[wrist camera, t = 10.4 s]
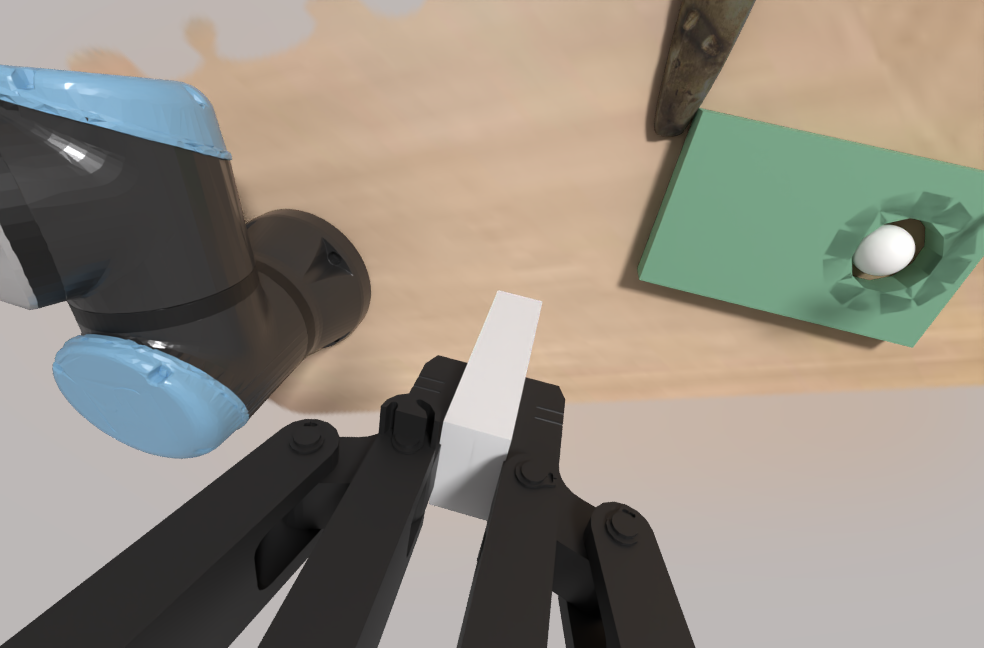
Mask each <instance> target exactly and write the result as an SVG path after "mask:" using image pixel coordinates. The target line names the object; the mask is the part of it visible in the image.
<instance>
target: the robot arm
mask: <svg viewBox="0 0 984 648" xmlns="http://www.w3.org/2000/svg"><path fill="white" fill-rule="evenodd" d="M230 160H232V156H231V154H230V152H228V151H227V149H226V146H225V143H224V140H223V137H222V134H221V131H220V128H219V124H218V121H217V118H216V114H215V111H214V109H213V106H212V104H211V103H210V101H209V100H208V98H207V97H206V96H205V95H204V94H203V93H202V92H201V91H199V90H198V89H196V88H195V87H193V86H191V85H189V84H186V83H183V82H179V81H171V80H161V79H151V78H141V77H130V76H119V75H108V74H97V73H87V72H77V71H66V70H65V71H64V70H55V69H54V70H53V69H44V68H32V67H20V66H8V65H0V301H4V302H6V303H10V304H13V305H16V306H19V307H22V308H25V309H28V310H33V309H38V308H42V307H45V306H49V305H52V304H56V303H59V302H63V301H67V302H68V304H69V306H70V308H71V310H72V312H73V314H74V316H75V318H76V321H77V323H78V325H79V327H80V329H81V332H82V333H81V335H78V336H76V337H74V338H71V339H69V340H68V341H67V342H65V344H64V346H63V348H61V349H60V350H59V351H58V352H57V354H56V357H55V362H54V363H53V374H54V378H55V381H56V383H57V385H58V387H59V389H60V391H61V392H62V394H63V395H64V396H65V398H66V399H67V400H68V402H69V403H70V404H71V405H72V406H73V407H74V408H75V409H76V410H77V411H78V412H79V413H80V414H81V415H82V416H84V418H86V419H87V420H88V421H89V422H90V423H92V424H93V425H94V426H96V427H97V428H98V429H100V430H101V431H103V432H104V433H106V434H108V435H109V436H111V437H113V438H115V439H116V440H118V441H120V442H122V443H124V444H126V445H128V446H130V447H133V448H135V449H138V450H141V451H143V452H146V453H149V454H153V455H157V456H162V457H168V458H181V459H183V458H193V457H198V456H201V455H204V454H207V453H209V452H211V451H212V450H214V449H216V448H217V447H218V446H219V445H221V444H222V443H223V442H224V441H225V440H226V439H227V438H228V437H229V436H230V435H231V434H232V433H234V432H235V431H236V430H238V429H240V428H241V427H242V426H244V425H245V424H246V423H247V421H248V420H249V418H250V417H251V416H252V415H253V414H254V413H255V412H256V411H257V410H258V409H259V407H260V406H261V405H262V404H263V403H264V402H265V401H266V400H267V399H268V398H269V396H270V395H271V394H272V393H273V392H274V391H275V390H276V389H277V388H278V387H279V386H280V384H281V383H282V382H283V381H284V380H285V379H286V378H287V377H288V376H289V375H290V373H291V372H292V371H293V370H294V369H295V368H296V367H297V366H298V365H299V364H300V362H301V361H302V360H303V359H304V358H305V357H306V356H308V355H310V354H312V353H315V352H317V351H319V350H320V349H321V348H325V347H329V346H332V345H334V344H336V343H339V342H340V341H342V340H343V339H345V338H346V337H348V336H349V335H350V334H351V333H352V332H353V331H354V330H355V328H356V327H357V326H358V325H359V324H360V323H361V321H362V320H363V319H364V317H365V315H366V313H367V311H368V308H369V304H370V298H371V286H370V280H369V276H368V272H367V269H366V266H365V264H364V262H363V260H362V258H361V256H360V255H359V253H358V251H357V250H356V248H355V247H354V246H353V244H352V243H351V242H350V241H349V240H348V239H347V237H346V236H345V235H344V234H343V233H341V232H340V231H339V230H338V229H337V228H335V227H334V226H333V225H331V224H330V223H328V222H327V221H325V220H323V219H321V218H319V217H317V216H315V215H313V214H310V213H307V212H303V211H299V210H292V209H280V210H274V211H270V212H267V213H265V214H263V215H261V216H259V217H257V218H255V219H253V220H251V221H249V222H247V223H246V224H245V220H244V216H243V212H242V208H241V204H240V199H239V195H238V191H237V187H236V183H235V179H234V175H233V170H232V166H231V162H230ZM541 306H542V301H539V300H535V299H531V298H527V297H523V296H519V295H515V294H511V293H507V292H503V291H500V290H498V292H497V294H496V296H495V299H494V301H493V304H492V306H491V308H490V311H489V313H488V316H487V318H486V320H485V323H484V325H483V328H482V330H481V332H480V335H479V337H478V340H477V342H476V344H475V347H474V349H473V352H472V354H471V356H470V359H469V361H468V363H465V362H462V361H458V360H454V359H450V358H447V357H443V356H439V355H438V356H436V357H435V358H433V359H432V360H430V361H429V362H427V363H426V364H425V365H424V367H423V369H422V371H421V373H420V375H419V377H418V378H417V380H416V382H415V384H414V387H412V389H411V391H410V393H409V394H401V395H396V396H394V397H392V398H389V399H387V400H386V401H385V402H384V403H383V404H382V405H381V411H380V423H379V433H378V434H376V435H372V436H368V437H339V435H338V432H337V430H336V429H335V428H334V427H333V426H332V425H331V424H329V423H328V422H324V421H321V420H318V419H304V420H300V421H296V422H292V423H291V424H289V425H287V426H285V427H284V428H282V429H281V430H279V431H278V432H277V433H276V434H274V435H273V436H272V437H270V438H269V439H268V440H266V441H265V442H264V443H263V444H261V445H260V446H259V447H257V448H256V449H255V450H254V451H252V452H251V453H250V454H248V455H247V456H246V457H244V458H243V459H242V460H241V461H239V462H238V463H237V464H235V465H234V466H233V467H232V468H230V469H229V470H228V471H226V472H225V473H224V474H223V475H221V476H220V477H219V478H217V479H216V480H215V481H213V482H212V483H211V484H210V485H208V486H207V487H206V488H204V489H203V490H202V491H201V492H199V493H198V494H197V495H195V496H194V497H193V498H191V499H190V500H189V501H187V502H186V503H185V504H184V505H182V506H181V507H180V508H179V509H177V510H176V511H175V512H173V513H172V514H171V515H169V516H168V517H167V518H165V519H164V520H163V521H162V522H160V523H159V524H158V525H156V526H155V527H154V528H153V529H151V530H150V531H149V532H147V533H146V534H145V535H143V536H142V537H141V538H140V539H138V540H137V541H136V542H134V543H133V544H132V545H131V546H129V547H128V548H127V549H126V550H124V551H123V552H121V553H120V554H119V555H118V556H116V557H115V558H114V559H112V560H111V561H110V562H109V563H107V564H106V565H105V566H103V567H102V568H101V569H99V570H98V571H97V572H96V573H94V574H93V575H92V576H91V577H89V578H88V579H87V580H85V581H84V582H83V583H81V584H80V585H79V586H77V587H76V588H75V589H74V590H72V591H71V592H70V593H68V594H67V595H66V596H65V597H63V598H62V599H61V600H59V601H58V602H57V603H56V604H54V605H53V606H52V607H50V608H49V609H48V610H46V611H45V612H44V613H42V614H41V615H40V616H39V617H37V618H36V619H35V620H33V621H32V622H31V623H30V624H28V625H27V626H26V627H24V628H23V629H22V630H21V631H19V632H18V633H17V634H15V635H14V636H13V637H11V638H10V639H9V640H8V641H6V642H5V643H4V644H2V645H1V646H0V648H228V647H229V645H231V643H232V642H233V641H234V640H235V639H236V638H237V637H238V635H240V633H241V632H242V631H243V630H244V629H245V627H247V626H248V624H249V623H250V622H251V621H252V620H253V619H254V617H256V615H257V614H258V613H259V612H260V611H261V610H262V609H263V607H264V606H265V605H266V604H267V603H268V602H269V601H270V600H271V599H272V597H273V596H274V595H275V594H276V593H277V592H278V591H279V590H280V588H281V587H282V586H283V585H284V584H285V583H286V582H287V581H288V580H289V578H290V577H291V576H292V575H293V574H294V573H295V572H296V571H297V569H298V568H299V567H300V566H301V565H302V564H303V563H304V562H305V561H306V559H307V558H308V557H309V558H308V559H307V561H306V563H305V565H304V567H303V569H302V570H301V572H300V574H299V575H298V577H297V579H296V581H295V583H294V584H293V586H292V588H291V589H290V591H289V593H288V595H287V596H286V599H285V600H284V602H283V604H282V605H281V607H280V609H279V611H278V612H277V614H276V616H275V618H274V619H273V621H272V623H271V625H270V627H269V628H268V630H267V632H266V634H265V636H264V637H263V639H262V641H261V642H260V644H259V646H258V648H377V647H378V645H379V642H380V639H381V636H382V634H383V631H384V628H385V625H386V622H387V620H388V617H389V614H390V612H391V609H392V606H393V604H394V601H395V598H396V595H397V593H398V590H399V587H400V584H401V582H402V579H403V576H404V574H405V571H406V568H407V566H408V563H409V560H410V557H411V555H412V552H413V549H414V546H415V544H416V541H417V538H418V536H419V533H420V530H421V527H422V525H423V519H424V513H425V509H426V506H427V504H428V501H429V499H430V501H429V504H431V505H434V506H438V507H442V508H445V509H448V510H452V511H456V512H459V513H462V514H466V515H469V516H473V517H476V518H479V519H483V520H486V521H487V526H486V529H485V533H484V537H483V540H482V544H481V547H480V551H479V554H478V558H477V565H476V569H475V573H474V577H473V582H472V586H471V590H470V594H469V598H468V602H467V607H466V611H465V615H464V619H463V623H462V628H461V632H460V636H459V640H458V645H457V648H547V641H548V630H549V619H550V608H551V596H552V591H553V592H554V593H556V594H557V595H558V600H559V606H560V612H561V619H562V625H563V631H564V638H565V644H566V648H695V645H694V643H693V640H692V637H691V634H690V631H689V629H688V626H687V623H686V620H685V618H684V615H683V612H682V610H681V607H680V604H679V601H678V598H677V596H676V594H675V590H674V587H673V585H672V582H671V579H670V576H669V574H668V571H667V568H666V565H665V563H664V560H663V557H662V554H661V552H660V549H659V546H658V544H657V541H656V538H655V535H654V532H653V530H652V529H651V527H650V525H649V523H648V522H647V520H646V519H645V518H644V517H643V516H642V515H641V514H640V513H639V512H638V511H636V510H634V509H632V508H631V507H629V506H627V505H625V504H621V503H617V502H607V503H602V504H601V505H599V506H597V507H594V506H592V505H591V504H589V503H587V502H586V501H584V500H582V499H581V498H579V497H578V496H576V495H575V494H573V493H572V492H571V491H570V489H569V488H568V487H566V485H565V483H564V482H563V480H562V478H561V476H560V473H559V459H560V448H561V438H562V425H563V417H564V416H563V414H564V407H565V398H564V396H563V394H562V392H561V390H560V387H559V386H556V385H552V384H549V383H545V382H541V381H537V380H534V379H530V378H526V373H527V368H528V364H529V359H530V355H531V350H532V346H533V341H534V337H535V332H536V328H537V323H538V319H539V315H540V310H541Z"/></svg>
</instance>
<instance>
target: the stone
mask: <svg viewBox="0 0 984 648" xmlns="http://www.w3.org/2000/svg"><path fill="white" fill-rule="evenodd" d="M755 1H756V0H683V1H682V4H681V8H680V12H679V15H678V19H677V23H676V27H675V31H674V35H673V38H672V43H671V47H670V51H669V55H668V59H667V63H666V67H665V72H664V76H663V80H662V85H661V89H660V94H659V99H658V104H657V110H656V116H655V123H654V128H655V131H656V133H657V135H661V136H676V135H679V134H681V133H683V131H684V130H685V128H686V127H687V125H688V124H689V122H690V121H691V119H692V117H693V116H694V114H695V113H696V111H697V110H698V108H699V107H700V105H701V104H702V102H703V100H704V99H705V97H706V95H707V94H708V92H709V90H710V89H711V87H712V85H713V83H714V82H715V80H716V78H717V76H718V75H719V73H720V71H721V69H722V67H723V65H724V63H725V62H726V60H727V58H728V56H729V54H730V52H731V50H732V48H733V46H734V44H735V42H736V40H737V38H738V36H739V34H740V32H741V30H742V28H743V26H744V24H745V22H746V20H747V18H748V16H749V13H750V11H751V9H752V7H753V5H754V3H755Z"/></svg>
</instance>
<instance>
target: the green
mask: <svg viewBox="0 0 984 648" xmlns="http://www.w3.org/2000/svg"><path fill="white" fill-rule="evenodd" d="M908 218H912V219H916V220H920V222H921V223H922V224H923V225H924V226H925V244H924V247H923V248H922V250H921V251H920V253H919V254H918V256H917V257H916V258H915V260H914V261H913V263H912V264H910V265H909V266H907V267H906V268H904V269H902V270H901V271H899V272H897V273H896V274H894V275H893V276H889V277H884V278H879V279H874V280H866V279H862V278H858V277H854V276H852V256H853V254H854V253H855V251H856V249H857V248H858V246H859V244H860V243H861V241H862V240H863V238H864V237H866V236H867V235H869V234H870V233H872V232H873V231H875V230H876V229H878V228H879V227H881V226H882V225H884V224H886V223H890V222H895V221H899V220H904V219H908ZM983 256H984V170H979V169H975V168H970V167H965V166H961V165H956V164H952V163H947V162H943V161H938V160H934V159H929V158H925V157H920V156H915V155H911V154H906V153H902V152H897V151H893V150H888V149H884V148H879V147H875V146H870V145H865V144H861V143H856V142H852V141H847V140H843V139H838V138H834V137H829V136H825V135H820V134H815V133H811V132H806V131H802V130H797V129H793V128H788V127H784V126H779V125H775V124H770V123H765V122H761V121H756V120H752V119H747V118H743V117H738V116H734V115H729V114H725V113H720V112H715V111H711V110H706V109H702V108H698V110H697V111H696V113H695V115H694V118H693V121H692V123H691V126H690V129H689V131H688V134H687V137H686V139H685V142H684V145H683V147H682V150H681V153H680V156H679V158H678V161H677V164H676V166H675V169H674V172H673V174H672V177H671V180H670V182H669V185H668V188H667V190H666V193H665V196H664V198H663V201H662V204H661V207H660V209H659V212H658V215H657V217H656V220H655V223H654V225H653V228H652V231H651V233H650V236H649V239H648V241H647V244H646V247H645V249H644V252H643V255H642V257H641V260H640V263H639V266H638V268H637V270H638V276H639V280H642V281H646V282H650V283H654V284H658V285H662V286H666V287H670V288H674V289H678V290H682V291H686V292H690V293H694V294H698V295H702V296H706V297H710V298H714V299H718V300H722V301H726V302H730V303H734V304H739V305H743V306H747V307H751V308H755V309H759V310H763V311H767V312H771V313H775V314H779V315H783V316H787V317H791V318H795V319H799V320H803V321H807V322H811V323H815V324H819V325H823V326H827V327H831V328H835V329H839V330H843V331H848V332H852V333H856V334H860V335H864V336H868V337H872V338H876V339H880V340H884V341H888V342H892V343H896V344H900V345H904V346H908V347H912V348H913V347H914V345H915V344H916V343H917V341H918V340H919V339H920V338H921V336H922V335H923V334H924V332H925V331H926V330H927V329H928V327H929V326H930V325H931V323H932V322H933V321H934V319H935V318H936V317H937V316H938V314H939V313H940V312H941V310H942V309H943V308H944V306H945V305H946V304H947V303H948V301H949V300H950V299H951V297H952V296H953V295H954V294H955V292H956V291H957V290H958V288H959V287H960V286H961V284H962V283H963V282H964V281H965V279H966V278H967V277H968V275H969V274H970V273H971V272H972V270H973V269H974V268H975V266H976V265H977V264H978V262H979V261H980V260H981V259H982V257H983Z"/></svg>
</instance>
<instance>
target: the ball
mask: <svg viewBox="0 0 984 648" xmlns="http://www.w3.org/2000/svg"><path fill="white" fill-rule="evenodd" d="M914 253H915V243H914V240H913V238H912V236H911V235H910V234H909V233H908V232H907V231H906V230H904V229H902V228H900V227H898V226H894V225H886V224H885V225H882V226H881V227H879V228H878V229H876V230H875V231H873V232H872V233H870V234H869V235H867V236H866V237H864V238H863V240H862V241H861V243H860V244H859V246H858V248H857V249H856V251H855V253H854V254H853V256H852V262H853V263H854V265H855V266H856V267H857V268H858V269H859V270H861V271H862V272H864V273H867V274H870V275H876V276H883V275H889V274H893V273H896V272H898V271H900V270H901V269H903V268H904V267H906V266H907V265H908V264H909V262H910V261H911V260H912V258H913V256H914Z"/></svg>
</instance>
